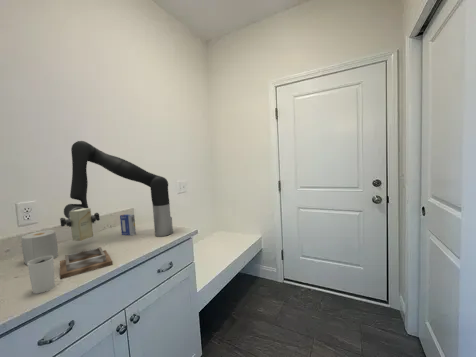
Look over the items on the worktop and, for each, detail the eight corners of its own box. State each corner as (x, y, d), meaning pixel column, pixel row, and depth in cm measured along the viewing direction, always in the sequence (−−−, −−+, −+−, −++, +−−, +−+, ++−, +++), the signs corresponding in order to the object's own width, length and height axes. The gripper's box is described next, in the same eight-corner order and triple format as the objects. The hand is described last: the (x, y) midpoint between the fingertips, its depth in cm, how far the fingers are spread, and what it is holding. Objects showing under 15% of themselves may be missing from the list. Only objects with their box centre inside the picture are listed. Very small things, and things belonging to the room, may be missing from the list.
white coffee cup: (29, 289, 78) (26, 260, 77) (54, 281, 83) (51, 254, 82) (32, 296, 73) (28, 266, 73) (58, 287, 78) (55, 258, 77)
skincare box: (81, 241, 92) (78, 211, 91) (71, 241, 93) (68, 211, 92) (93, 236, 98) (91, 207, 97) (85, 235, 99) (82, 207, 98)
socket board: (105, 253, 108) (105, 244, 108) (112, 264, 95) (111, 255, 94) (60, 264, 98) (59, 255, 97) (60, 279, 84) (59, 268, 84)
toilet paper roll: (44, 253, 112) (42, 230, 111) (65, 254, 110) (62, 230, 109) (16, 264, 100) (13, 238, 100) (38, 265, 98) (35, 238, 97)
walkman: (121, 235, 136) (119, 214, 136) (125, 233, 139) (123, 213, 138) (132, 235, 134) (131, 215, 133) (136, 233, 137) (134, 214, 136)
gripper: (58, 210, 101) (58, 216, 88) (96, 205, 110) (101, 210, 97) (60, 227, 102) (60, 235, 89) (97, 220, 111) (103, 227, 98)
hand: (81, 222), depth 93 cm, fingers closed on skincare box, 7 cm apart
